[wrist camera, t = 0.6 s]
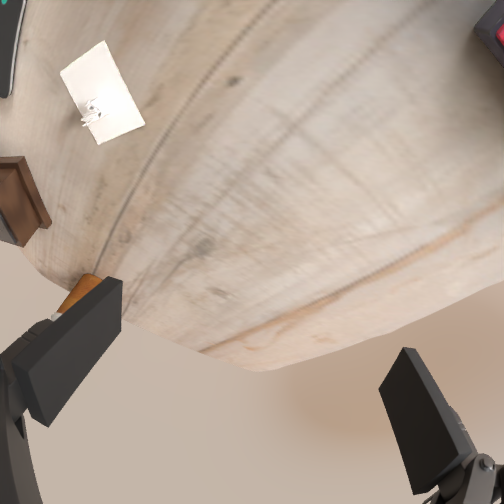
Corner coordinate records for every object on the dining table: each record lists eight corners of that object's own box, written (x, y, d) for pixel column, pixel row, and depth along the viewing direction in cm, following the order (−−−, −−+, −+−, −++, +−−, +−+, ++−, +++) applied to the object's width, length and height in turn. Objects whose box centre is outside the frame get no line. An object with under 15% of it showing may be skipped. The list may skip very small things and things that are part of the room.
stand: (-16, 158, 32) (-44, 185, 27) (24, 156, 30) (-9, 188, 26) (10, 214, 41) (-12, 242, 36) (52, 222, 40) (28, 255, 35)
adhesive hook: (98, 120, 26) (81, 134, 24) (87, 100, 24) (69, 113, 22) (118, 110, 25) (100, 123, 23) (107, 89, 23) (88, 101, 21)
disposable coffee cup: (99, 267, 47) (68, 325, 39) (126, 300, 53) (102, 354, 45) (68, 267, 50) (39, 318, 42) (94, 297, 56) (70, 345, 48)
